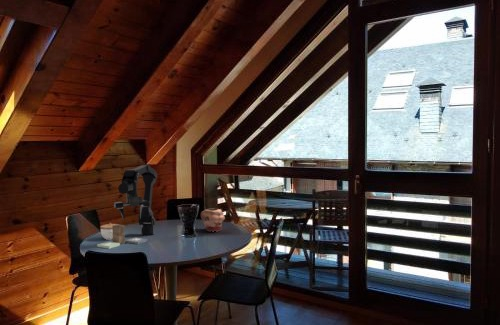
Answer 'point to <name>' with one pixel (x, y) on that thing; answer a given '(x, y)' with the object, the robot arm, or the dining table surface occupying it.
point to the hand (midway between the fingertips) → (132, 219)
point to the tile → (136, 240)
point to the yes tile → (108, 245)
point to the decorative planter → (212, 219)
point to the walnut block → (118, 233)
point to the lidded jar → (107, 231)
